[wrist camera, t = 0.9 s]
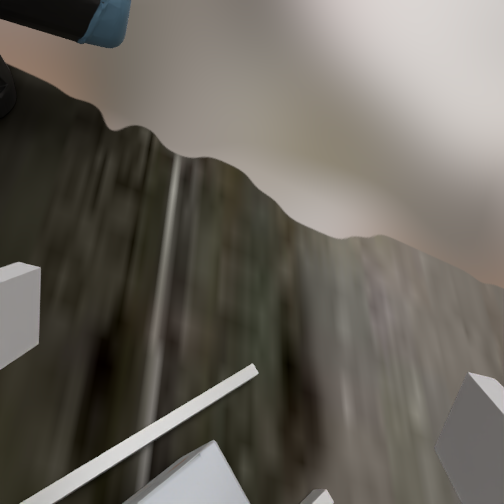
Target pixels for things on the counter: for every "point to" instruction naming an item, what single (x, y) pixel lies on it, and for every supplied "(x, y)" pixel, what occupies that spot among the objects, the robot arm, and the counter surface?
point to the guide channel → (45, 500)
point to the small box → (194, 481)
